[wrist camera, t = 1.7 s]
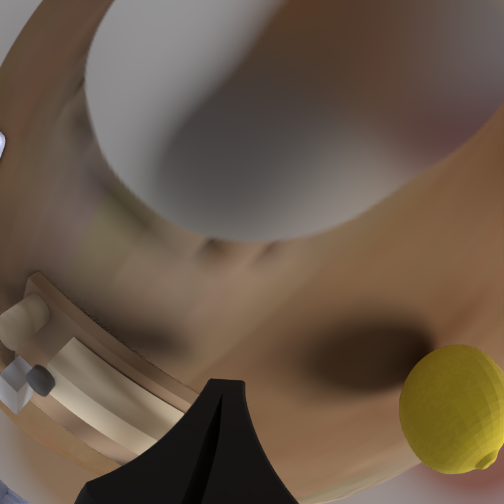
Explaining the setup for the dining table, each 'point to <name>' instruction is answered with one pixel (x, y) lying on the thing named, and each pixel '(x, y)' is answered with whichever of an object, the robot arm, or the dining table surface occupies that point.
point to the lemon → (454, 409)
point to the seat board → (52, 341)
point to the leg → (104, 397)
